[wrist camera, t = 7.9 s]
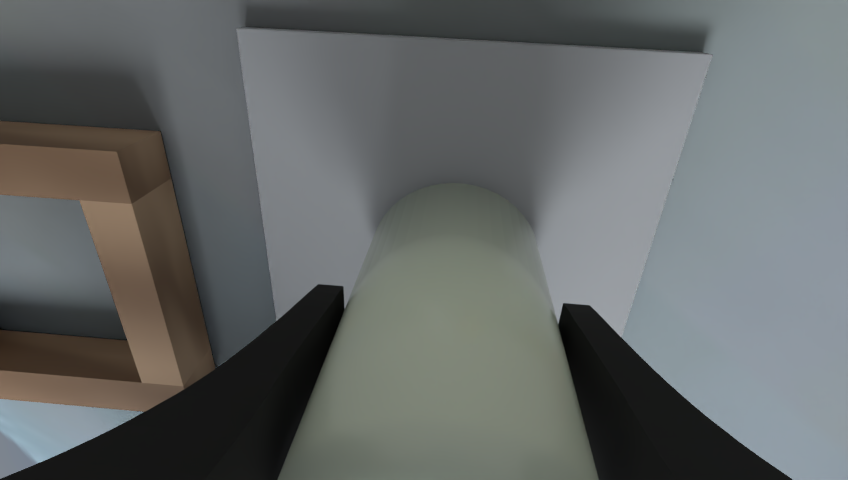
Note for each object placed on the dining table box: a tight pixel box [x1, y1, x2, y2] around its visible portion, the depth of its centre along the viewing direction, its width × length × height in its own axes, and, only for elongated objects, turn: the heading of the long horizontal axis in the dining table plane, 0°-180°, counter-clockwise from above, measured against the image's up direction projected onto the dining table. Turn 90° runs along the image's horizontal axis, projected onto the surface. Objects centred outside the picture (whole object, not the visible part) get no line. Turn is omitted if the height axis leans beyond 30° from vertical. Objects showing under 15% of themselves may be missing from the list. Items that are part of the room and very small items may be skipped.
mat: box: [236, 27, 713, 338], centre depth 15 cm, size 12×12×1 cm
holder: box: [0, 121, 215, 412], centre depth 16 cm, size 10×10×2 cm
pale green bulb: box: [278, 183, 599, 480], centre depth 10 cm, size 5×5×8 cm
